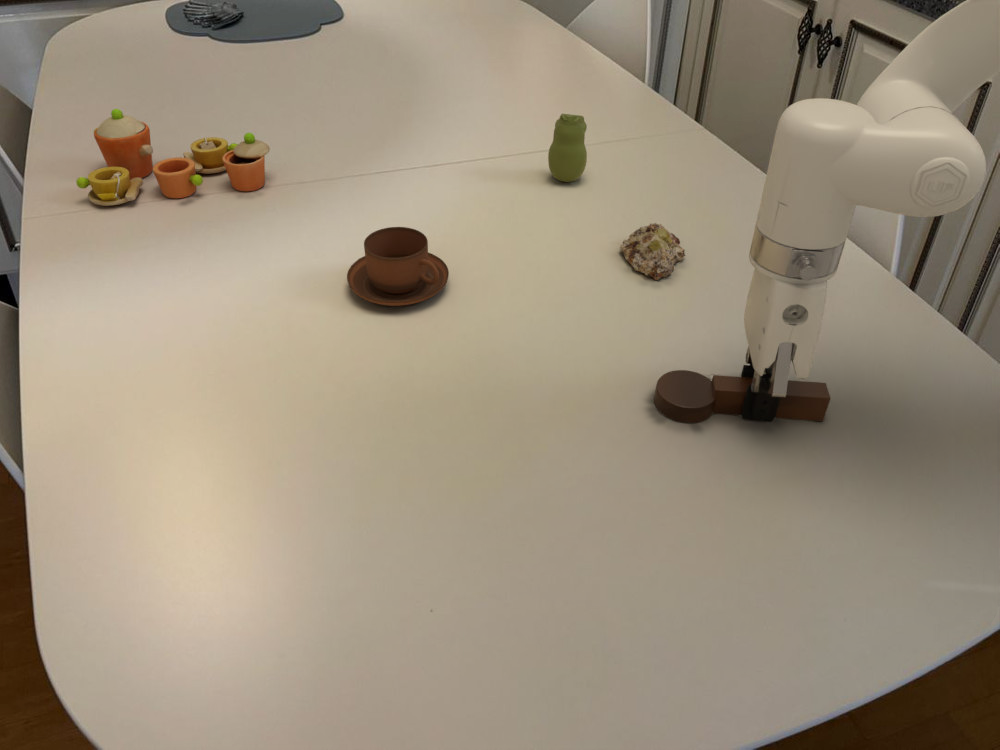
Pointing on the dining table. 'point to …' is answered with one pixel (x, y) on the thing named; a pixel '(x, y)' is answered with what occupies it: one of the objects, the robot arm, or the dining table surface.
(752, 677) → the dining table surface
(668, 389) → the brown handled disc
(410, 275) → the cup and saucer
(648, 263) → the mineral rock
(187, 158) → the toy tea set
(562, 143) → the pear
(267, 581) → the dining table surface
